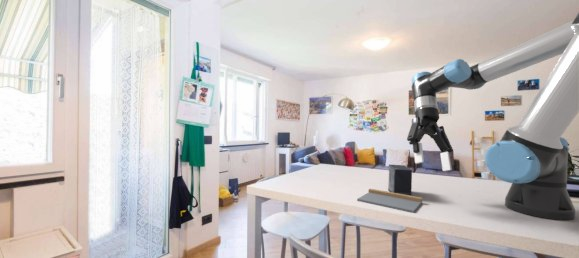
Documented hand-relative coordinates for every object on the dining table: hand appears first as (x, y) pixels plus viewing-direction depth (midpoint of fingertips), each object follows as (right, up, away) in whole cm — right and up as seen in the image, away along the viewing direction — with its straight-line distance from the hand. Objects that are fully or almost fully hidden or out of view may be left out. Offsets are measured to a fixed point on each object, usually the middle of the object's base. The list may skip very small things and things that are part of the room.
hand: (433, 166), depth 82 cm
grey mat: (-14, -12, +2) cm, 19 cm away
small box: (-7, -12, +11) cm, 18 cm away
